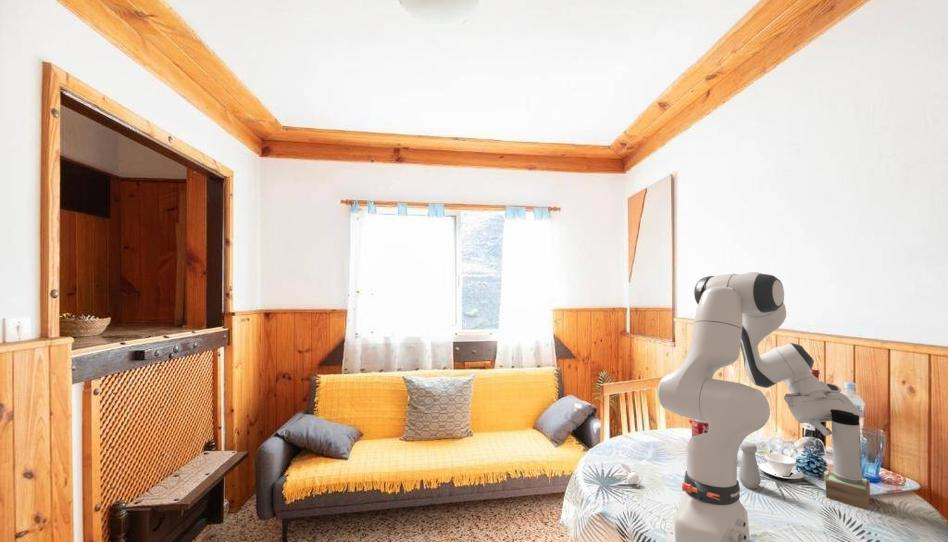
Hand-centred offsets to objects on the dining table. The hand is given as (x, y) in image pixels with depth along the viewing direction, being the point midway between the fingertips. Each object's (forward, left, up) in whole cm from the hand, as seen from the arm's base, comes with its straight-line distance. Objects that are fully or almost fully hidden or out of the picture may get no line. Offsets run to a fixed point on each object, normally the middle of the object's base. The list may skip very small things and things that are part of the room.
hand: (842, 433), depth 123 cm
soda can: (+5, +40, -18) cm, 45 cm away
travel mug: (-1, -1, -13) cm, 13 cm away
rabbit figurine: (-38, +49, -18) cm, 65 cm away
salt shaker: (-13, +21, -18) cm, 31 cm away
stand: (-1, -1, -18) cm, 18 cm away
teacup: (+4, +16, -18) cm, 25 cm away
